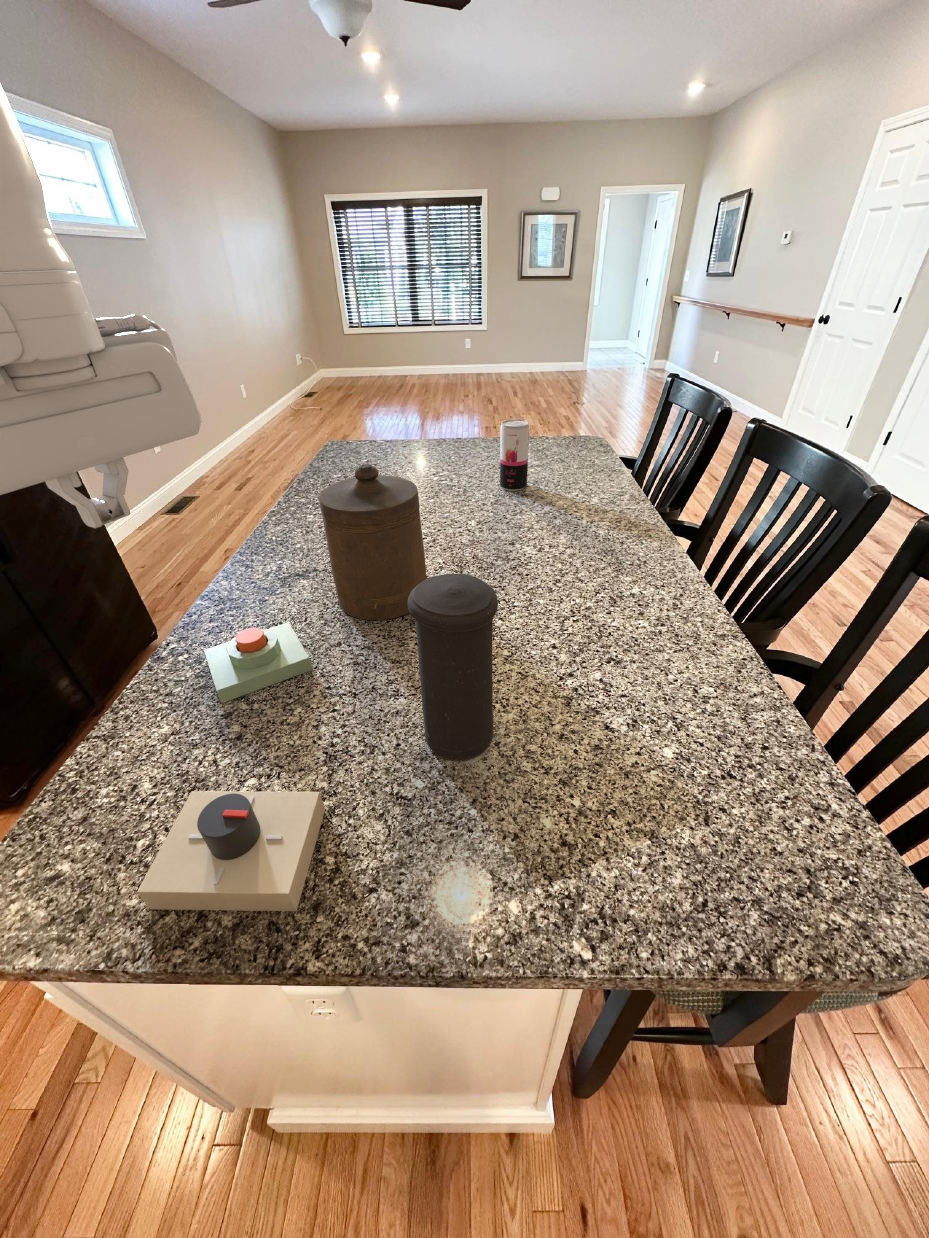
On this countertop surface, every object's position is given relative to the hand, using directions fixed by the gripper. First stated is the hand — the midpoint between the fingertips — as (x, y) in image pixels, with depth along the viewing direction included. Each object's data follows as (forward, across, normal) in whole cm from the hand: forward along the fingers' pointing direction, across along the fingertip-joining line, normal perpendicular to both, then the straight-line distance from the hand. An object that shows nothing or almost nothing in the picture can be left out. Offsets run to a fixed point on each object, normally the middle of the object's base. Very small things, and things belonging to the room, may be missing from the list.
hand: (109, 520), depth 42 cm
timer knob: (+26, +7, +12) cm, 30 cm away
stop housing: (+29, -14, -8) cm, 33 cm away
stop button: (+25, -14, -8) cm, 30 cm away
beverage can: (+29, -91, -4) cm, 96 cm away
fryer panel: (+29, +7, +12) cm, 32 cm away
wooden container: (+29, -36, -3) cm, 47 cm away
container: (+29, -16, +23) cm, 40 cm away
